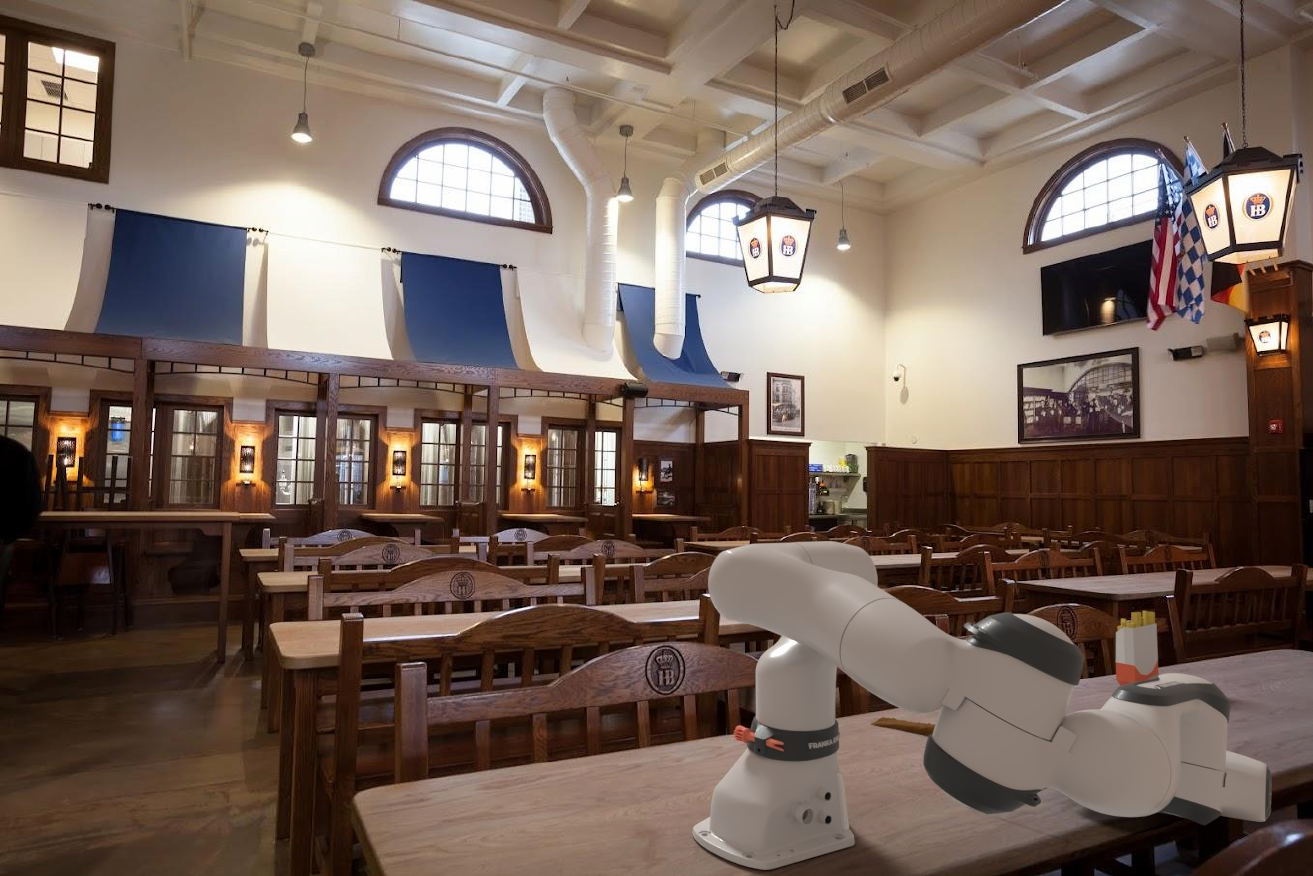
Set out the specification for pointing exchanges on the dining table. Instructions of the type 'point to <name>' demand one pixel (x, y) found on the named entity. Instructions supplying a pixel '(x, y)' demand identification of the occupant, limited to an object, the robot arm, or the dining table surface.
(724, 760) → the dining table surface
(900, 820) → the dining table surface
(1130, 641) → the french fries container
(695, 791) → the dining table surface
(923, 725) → the primitive tool
